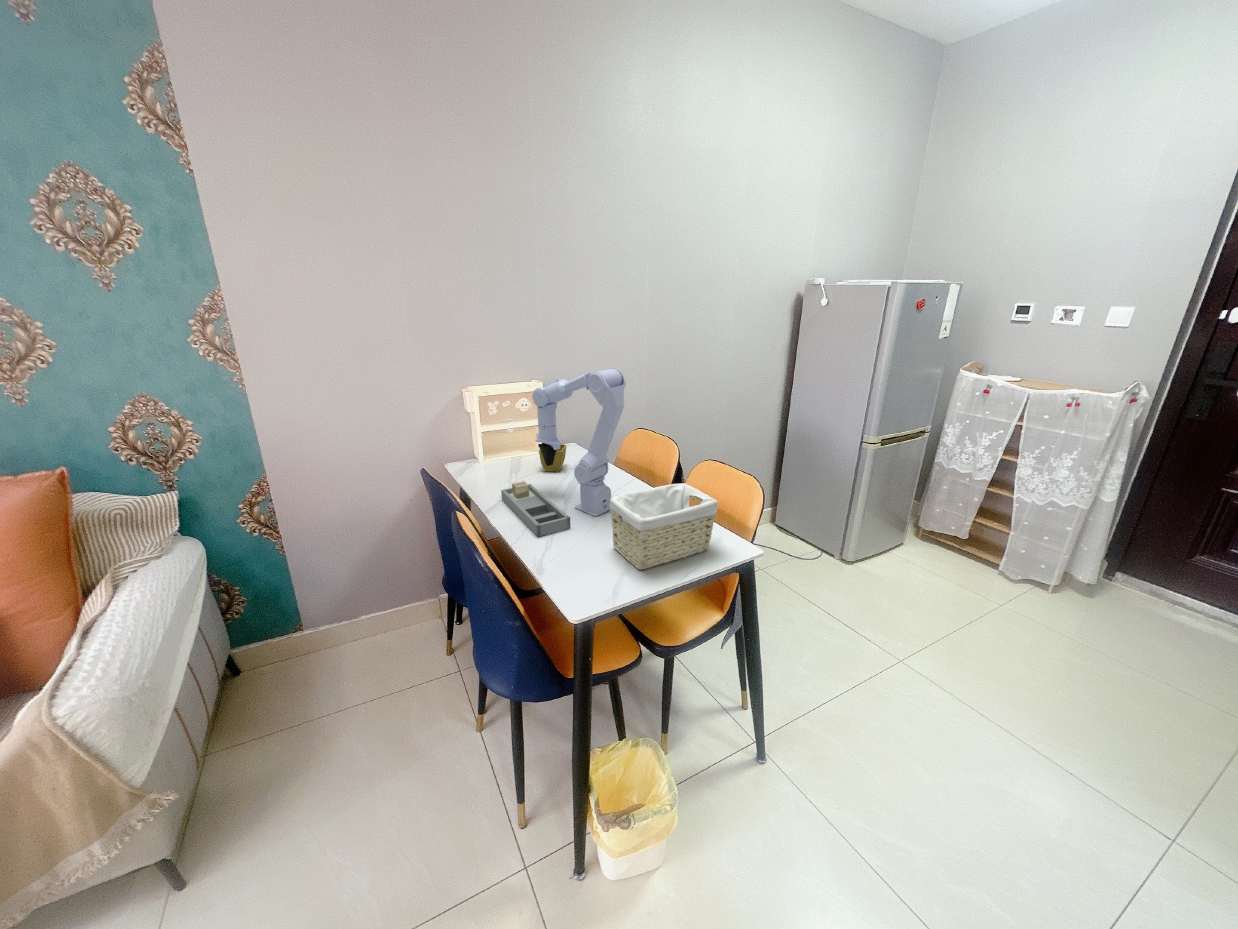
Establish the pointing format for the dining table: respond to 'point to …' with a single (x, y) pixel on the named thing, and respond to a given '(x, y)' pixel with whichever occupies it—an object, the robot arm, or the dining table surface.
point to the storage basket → (661, 524)
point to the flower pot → (555, 459)
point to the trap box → (537, 512)
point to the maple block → (520, 489)
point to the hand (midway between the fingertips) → (549, 464)
